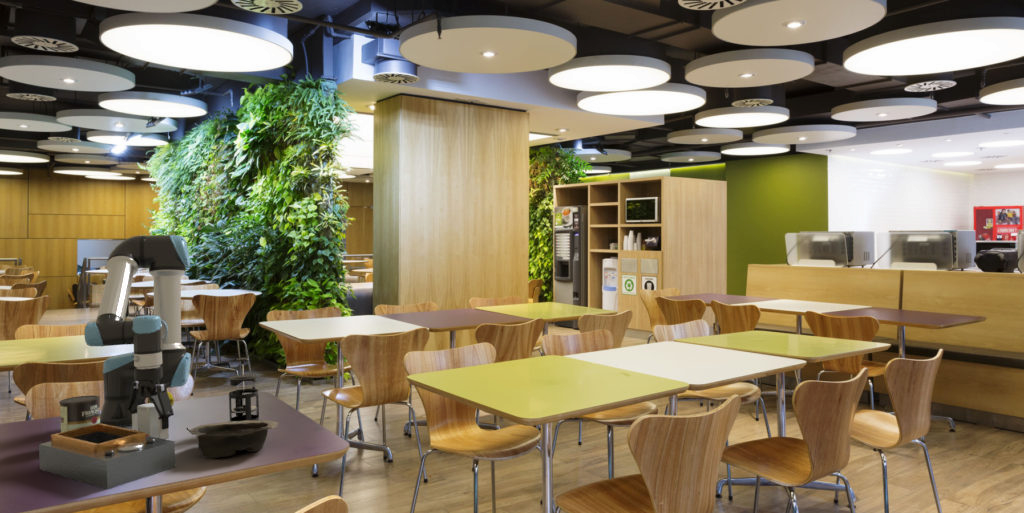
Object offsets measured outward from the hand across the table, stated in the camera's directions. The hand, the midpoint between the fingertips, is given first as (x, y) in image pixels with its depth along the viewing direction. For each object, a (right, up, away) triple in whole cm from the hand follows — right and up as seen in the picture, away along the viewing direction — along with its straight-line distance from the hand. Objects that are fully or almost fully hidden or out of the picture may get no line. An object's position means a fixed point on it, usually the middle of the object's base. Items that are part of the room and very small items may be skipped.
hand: (150, 436), depth 201 cm
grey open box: (0, -3, -22) cm, 22 cm away
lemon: (-18, -2, +40) cm, 44 cm away
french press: (+22, -2, +17) cm, 27 cm away
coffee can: (-21, -3, +1) cm, 22 cm away
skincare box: (0, -2, 0) cm, 2 cm away
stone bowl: (+28, -2, -7) cm, 29 cm away
